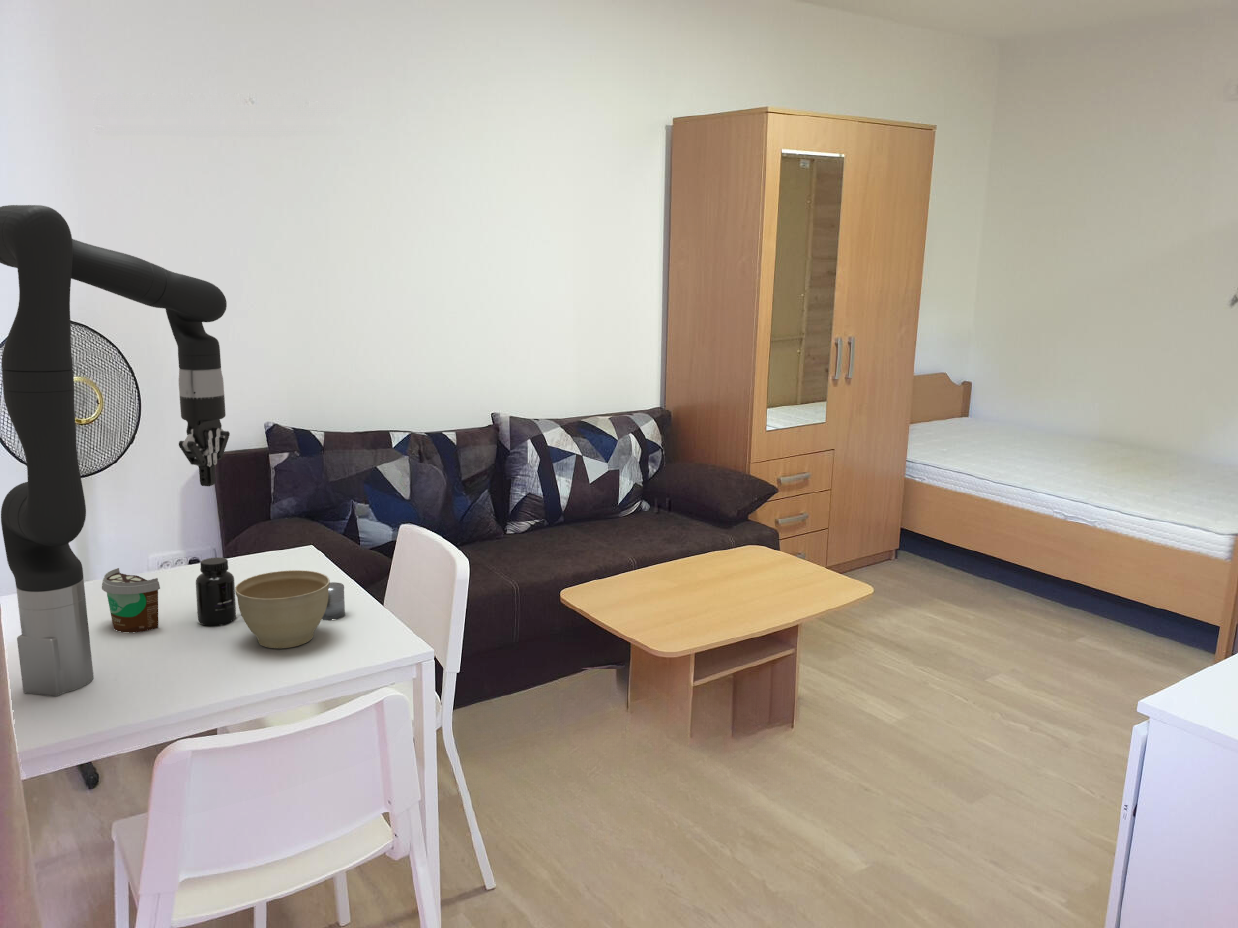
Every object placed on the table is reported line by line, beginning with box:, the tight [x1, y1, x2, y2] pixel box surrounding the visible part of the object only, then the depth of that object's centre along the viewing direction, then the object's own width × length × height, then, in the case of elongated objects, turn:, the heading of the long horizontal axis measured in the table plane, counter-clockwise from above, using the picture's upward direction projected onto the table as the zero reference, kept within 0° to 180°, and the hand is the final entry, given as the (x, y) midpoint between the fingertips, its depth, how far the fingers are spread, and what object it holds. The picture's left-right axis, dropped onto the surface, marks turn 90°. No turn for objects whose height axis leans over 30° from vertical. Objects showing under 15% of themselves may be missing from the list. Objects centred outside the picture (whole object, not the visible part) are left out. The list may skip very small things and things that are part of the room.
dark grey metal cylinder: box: [321, 581, 346, 621], centre depth 183 cm, size 5×5×6 cm
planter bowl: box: [235, 569, 331, 649], centre depth 170 cm, size 16×16×11 cm
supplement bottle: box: [195, 557, 237, 627], centre depth 178 cm, size 7×7×12 cm
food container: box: [101, 567, 161, 634], centre depth 174 cm, size 12×6×10 cm, turn 62°
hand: (208, 485), depth 174 cm, fingers closed
